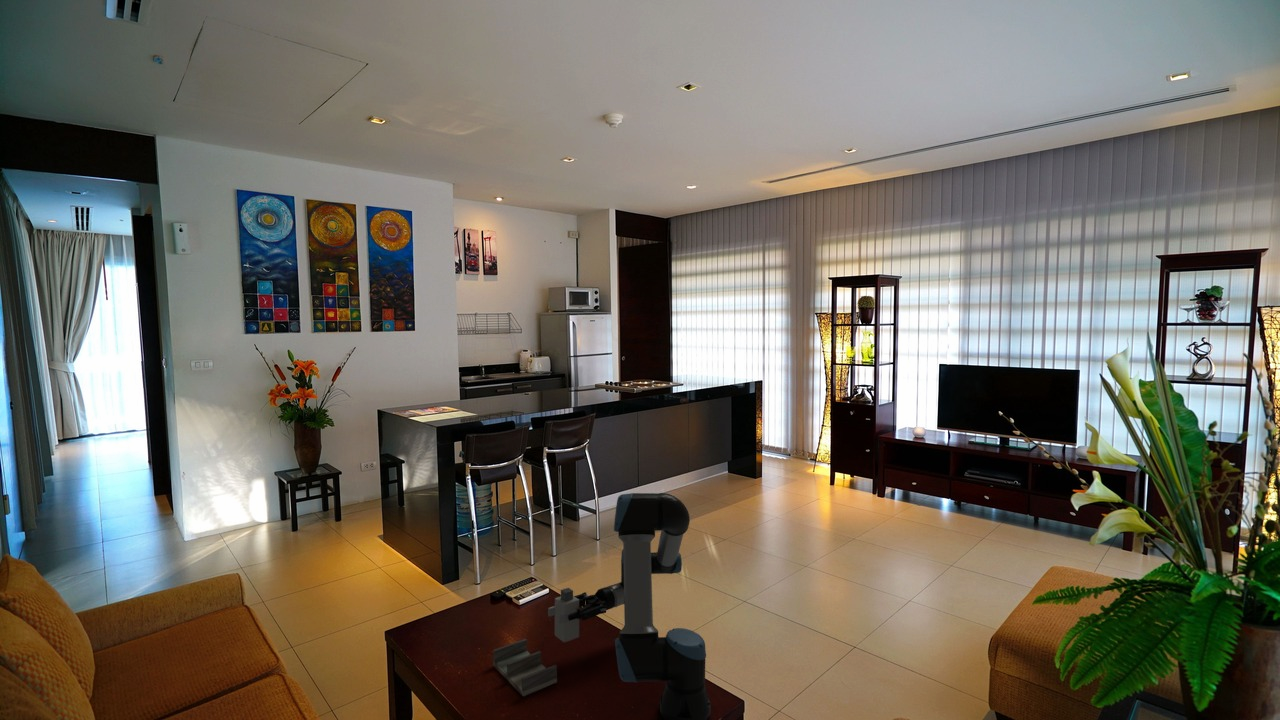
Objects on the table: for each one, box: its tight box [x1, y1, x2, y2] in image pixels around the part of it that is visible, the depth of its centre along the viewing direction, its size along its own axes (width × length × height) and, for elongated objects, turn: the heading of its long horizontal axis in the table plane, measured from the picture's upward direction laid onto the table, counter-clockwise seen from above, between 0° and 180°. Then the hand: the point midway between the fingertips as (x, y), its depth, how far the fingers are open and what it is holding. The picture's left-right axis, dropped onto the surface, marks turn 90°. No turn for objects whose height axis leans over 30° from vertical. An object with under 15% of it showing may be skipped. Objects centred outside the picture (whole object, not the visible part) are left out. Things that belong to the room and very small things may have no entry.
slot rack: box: [492, 638, 558, 697], centre depth 199 cm, size 21×12×6 cm, turn 39°
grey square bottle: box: [554, 587, 580, 643], centre depth 206 cm, size 6×6×16 cm
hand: (553, 616), depth 203 cm, fingers closed on grey square bottle, 6 cm apart
